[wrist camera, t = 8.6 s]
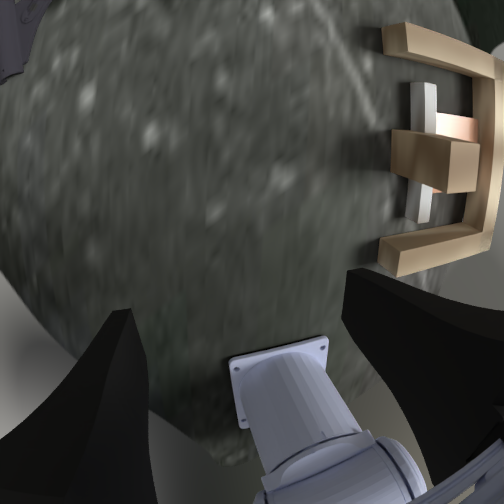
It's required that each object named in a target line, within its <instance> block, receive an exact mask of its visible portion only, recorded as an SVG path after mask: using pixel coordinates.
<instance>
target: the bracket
mask: <svg viewBox="0 0 504 504" xmlns="http://www.w3.org/2000/svg"><path fill="white" fill-rule="evenodd" d="M51 1H52V0H21V1H19V2H18V3H17V4H15V2H14V0H0V85H2V84H4V83H5V82H6V78H7V77H8V76H10V75H13V74H16V73H20V74H21V73H23V72H24V70H23V65H24V64H26V63H27V62H28V60H29V56H30V51H31V47H32V44H33V40H34V37H35V34H36V31H37V28H38V26H39V23H40V21H41V19H42V17H43V15H44V13H45V11H46V9H47V8H48V6H49V4H50V3H51Z"/></svg>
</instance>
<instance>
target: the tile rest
mask: <svg viewBox="0 0 504 504" xmlns="http://www.w3.org/2000/svg"><path fill="white" fill-rule="evenodd" d="M381 31H382V42H383V55H388V56H393V57H398V58H402V59H407V60H411V61H416V62H420V63H424V64H428V65H432V66H436V67H439V68H443V69H446V70H450V71H453V72H456V73H460V74H463V75H466V76H469V77H472V89H473V119H478V141H477V143H478V144H480V152H479V164H478V174H477V183H476V191H472V192H467V198H466V205H465V212H464V218H463V222H461V223H455V224H450V225H445V226H440V227H434V228H429V229H424V230H419V231H413V232H408V233H403V234H397V235H392V236H386V237H381V238H380V242H379V251H378V259H377V262H378V263H379V264H380V265H381V266H383V267H384V268H385V269H386V270H388V271H389V272H390V273H391V274H393V275H394V276H395V277H396V278H397V277H400V276H404V275H407V274H411V273H415V272H418V271H422V270H425V269H429V268H432V267H435V266H439V265H442V264H445V263H449V262H452V261H455V260H458V259H462V258H465V257H468V256H471V255H474V254H478V253H481V252H484V251H487V250H489V249H490V244H491V240H492V235H493V231H494V225H495V220H496V215H497V209H498V203H499V197H500V190H501V183H502V174H503V165H504V61H502V60H500V59H498V58H496V57H494V56H492V55H490V54H488V53H486V52H484V51H481V50H479V49H477V48H475V47H472V46H470V45H468V44H465V43H463V42H461V41H458V40H456V39H453V38H451V37H448V36H445V35H443V34H440V33H437V32H435V31H432V30H429V29H426V28H423V27H420V26H417V25H413V24H410V23H407V22H403V23H399V24H394V25H390V26H386V27H382V28H381Z"/></svg>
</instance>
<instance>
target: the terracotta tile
mask: <svg viewBox="0 0 504 504" xmlns="http://www.w3.org/2000/svg"><path fill="white" fill-rule="evenodd" d="M436 134H439V135H444V136H449V137H453V138H458V139H462V140H466V141H470V142H474V143H477V141H478V119H473V118H468V117H462V116H456V115H449V114H443V113H437V125H436ZM438 192H442V191H439V190H437V189H434V188H433V190H432V193H438Z"/></svg>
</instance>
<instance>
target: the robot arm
mask: <svg viewBox="0 0 504 504" xmlns="http://www.w3.org/2000/svg"><path fill="white" fill-rule="evenodd" d="M341 319H342V321H343V323H344V325H345V327H346V328H347V330H348V332H349V334H350V336H351V337H352V339H353V341H354V342H355V343H356V345H357V346H358V347H359V349H360V350H361V351H362V353H363V354H364V355H365V357H366V358H367V359H368V361H369V362H370V363H371V365H372V366H373V367H374V368H375V370H376V371H377V372H378V374H379V375H380V376H381V378H382V379H383V380H384V382H385V383H386V384H387V386H388V387H389V389H390V390H391V392H392V393H393V395H394V397H395V399H396V400H397V402H398V404H399V406H400V407H401V409H402V411H403V413H404V415H405V417H406V419H407V421H408V423H409V425H410V427H411V429H412V431H413V433H414V435H415V437H416V440H417V442H418V445H419V447H420V449H421V452H422V454H423V457H424V459H425V463H426V466H427V468H428V471H429V474H430V478H431V481H432V484H433V485H434V487H433V488H432V489H430V490H429V491H427V488H426V484H425V481H424V479H423V476H422V475H421V472H420V470H419V469H418V467H417V465H416V463H415V462H414V460H413V458H412V457H411V456H410V454H409V453H408V451H407V450H406V449H405V448H404V447H403V446H402V445H401V444H400V443H399V442H398V441H396V440H395V439H391V438H387V437H385V436H381V437H379V438H377V439H374V438H373V436H372V435H371V433H370V432H369V430H365V431H362V430H361V428H360V427H359V425H358V424H357V422H356V420H355V419H354V417H353V415H352V414H351V412H350V411H349V409H348V407H347V406H346V404H345V403H344V401H343V399H342V398H341V396H340V395H339V393H338V391H337V390H336V388H335V387H334V385H333V383H332V382H331V380H330V379H329V377H328V375H327V374H326V372H325V368H326V361H327V352H328V344H329V340H328V338H327V337H326V336H320V337H316V338H312V339H309V340H305V341H301V342H297V343H293V344H289V345H285V346H281V347H277V348H273V349H269V350H265V351H260V352H256V353H251V354H247V355H242V356H238V357H233V358H231V359H230V360H229V370H230V376H231V382H232V388H233V394H234V400H235V406H236V412H237V417H238V423H239V427H240V428H242V429H245V428H249V427H250V430H251V433H252V435H253V438H254V441H255V444H256V447H257V450H258V453H259V456H260V458H261V461H262V464H263V467H264V469H265V472H266V476H263V477H262V478H261V479H262V482H263V485H264V487H265V490H262V491H260V492H258V493H257V494H256V497H255V500H254V502H253V504H448V503H449V502H451V501H452V500H453V499H455V498H456V497H458V496H459V495H460V494H462V493H463V492H464V491H466V490H467V489H468V488H470V487H471V486H472V485H473V484H475V483H476V484H475V491H474V492H473V493H471V494H470V495H469V496H468V497H466V498H465V499H464V500H463V501H462V502H461V503H459V504H504V311H500V310H493V309H487V308H481V307H476V306H472V305H468V304H464V303H460V302H456V301H453V300H449V299H446V298H443V297H440V296H437V295H434V294H431V293H429V292H426V291H423V290H420V289H418V288H415V287H413V286H410V285H408V284H405V283H403V282H400V281H398V280H395V279H393V278H390V277H388V276H385V275H382V274H380V273H377V272H374V271H371V270H368V269H364V268H358V269H353V270H348V271H347V276H346V285H345V293H344V301H343V309H342V316H341ZM321 346H322V347H321ZM235 367H238V368H235ZM148 398H149V382H148V370H147V360H146V355H145V352H144V349H143V346H142V343H141V340H140V336H139V333H138V330H137V327H136V323H135V320H134V317H133V313H132V310H131V308H130V309H123V310H116V311H112V313H111V314H110V315H109V317H108V318H107V320H106V321H105V323H104V324H103V326H102V327H101V329H100V330H99V332H98V333H97V335H96V336H95V338H94V339H93V341H92V342H91V344H90V345H89V346H88V348H87V349H86V351H85V352H84V354H83V355H82V356H81V358H80V359H79V360H78V362H77V363H76V364H75V366H74V367H73V368H72V370H71V371H70V372H69V374H68V375H67V376H66V377H65V379H64V380H63V381H62V382H61V383H60V385H59V386H58V387H57V388H56V389H55V390H54V391H53V392H52V393H51V395H50V396H49V397H48V398H47V399H46V400H45V401H44V402H43V403H42V404H41V405H40V406H39V407H38V408H37V409H36V410H34V411H33V412H32V413H31V414H30V415H29V416H28V417H27V418H26V419H25V420H24V421H23V422H21V423H20V424H19V425H18V426H17V427H16V428H14V429H13V430H12V431H11V432H9V433H8V434H7V435H5V436H4V437H3V438H1V439H0V504H158V502H157V498H156V492H155V487H154V482H153V476H152V470H151V463H150V456H149V444H148Z"/></svg>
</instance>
